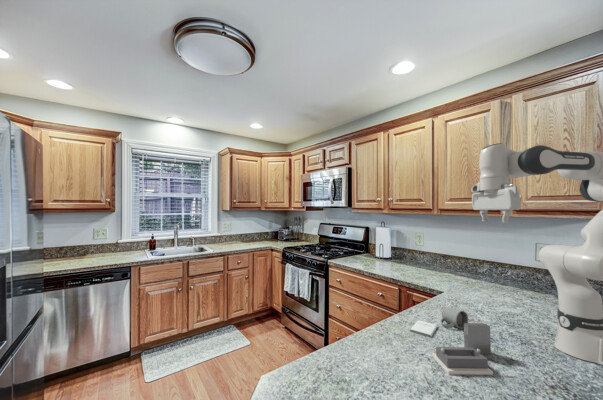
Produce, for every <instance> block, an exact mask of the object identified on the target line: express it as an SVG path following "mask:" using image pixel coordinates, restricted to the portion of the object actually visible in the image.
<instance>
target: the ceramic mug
mask: <svg viewBox="0 0 603 400" xmlns="http://www.w3.org/2000/svg"><path fill="white" fill-rule="evenodd" d="M441 317H442V318H441V319H440V325H441V326H442V327H443V328H445V329H452V328H454V327H456V328H458V329H460V330H461V329H463V330H464V323H469V322H468V321H469V318H468V317H469V316H468V313H467V312H466V311H465V310H462V309H458V308H455V307H451V306H445V307H444V308H443V310H442V312H441ZM444 322H446V323H448V324H444Z"/></svg>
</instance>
